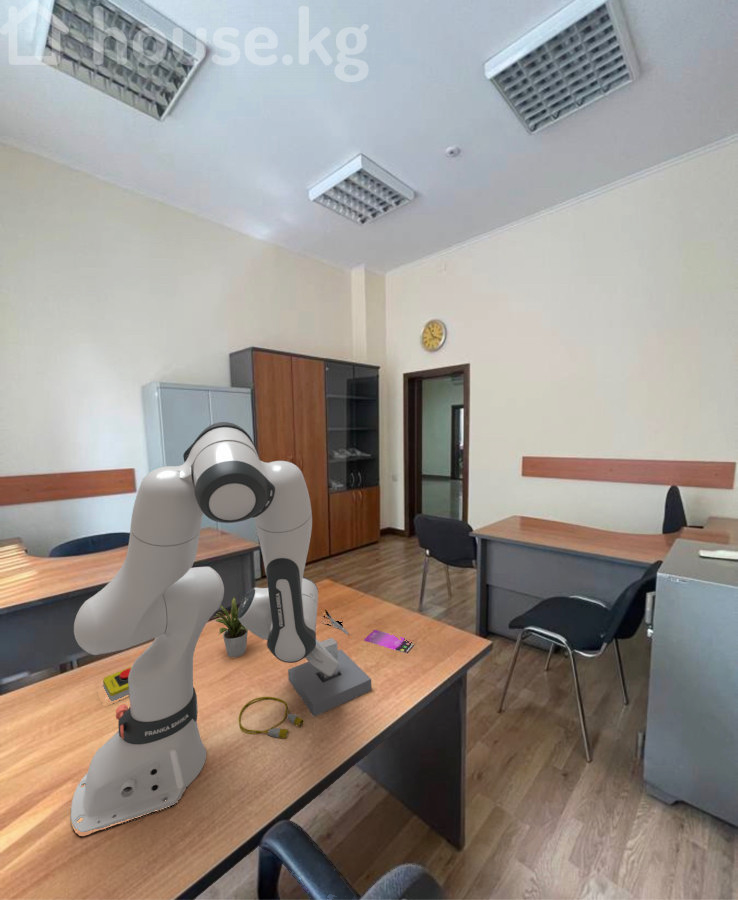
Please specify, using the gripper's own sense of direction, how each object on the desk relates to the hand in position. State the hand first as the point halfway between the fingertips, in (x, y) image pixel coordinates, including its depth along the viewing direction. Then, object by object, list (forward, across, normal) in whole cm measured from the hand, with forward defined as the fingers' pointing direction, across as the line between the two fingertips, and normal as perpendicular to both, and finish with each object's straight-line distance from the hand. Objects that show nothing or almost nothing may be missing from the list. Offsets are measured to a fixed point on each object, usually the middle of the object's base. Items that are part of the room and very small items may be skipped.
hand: (330, 659), depth 101 cm
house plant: (-8, +28, +18) cm, 34 cm away
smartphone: (+22, +8, -12) cm, 27 cm away
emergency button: (-26, +30, +36) cm, 54 cm away
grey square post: (+3, 0, +4) cm, 5 cm away
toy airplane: (+16, +29, -6) cm, 33 cm away
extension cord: (-7, -2, +18) cm, 19 cm away
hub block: (+4, 0, +5) cm, 7 cm away
